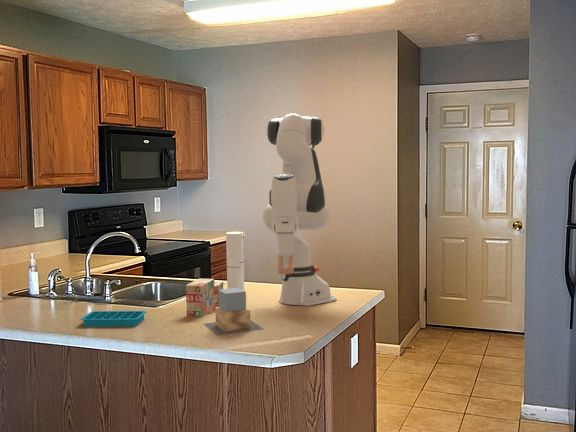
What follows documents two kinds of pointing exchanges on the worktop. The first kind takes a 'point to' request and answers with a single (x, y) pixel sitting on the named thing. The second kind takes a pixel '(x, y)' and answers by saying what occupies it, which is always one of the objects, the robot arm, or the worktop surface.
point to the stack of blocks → (202, 297)
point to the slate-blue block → (232, 299)
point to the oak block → (232, 319)
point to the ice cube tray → (113, 318)
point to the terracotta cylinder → (285, 270)
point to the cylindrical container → (235, 260)
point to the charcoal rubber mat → (219, 331)
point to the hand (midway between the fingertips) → (285, 266)
